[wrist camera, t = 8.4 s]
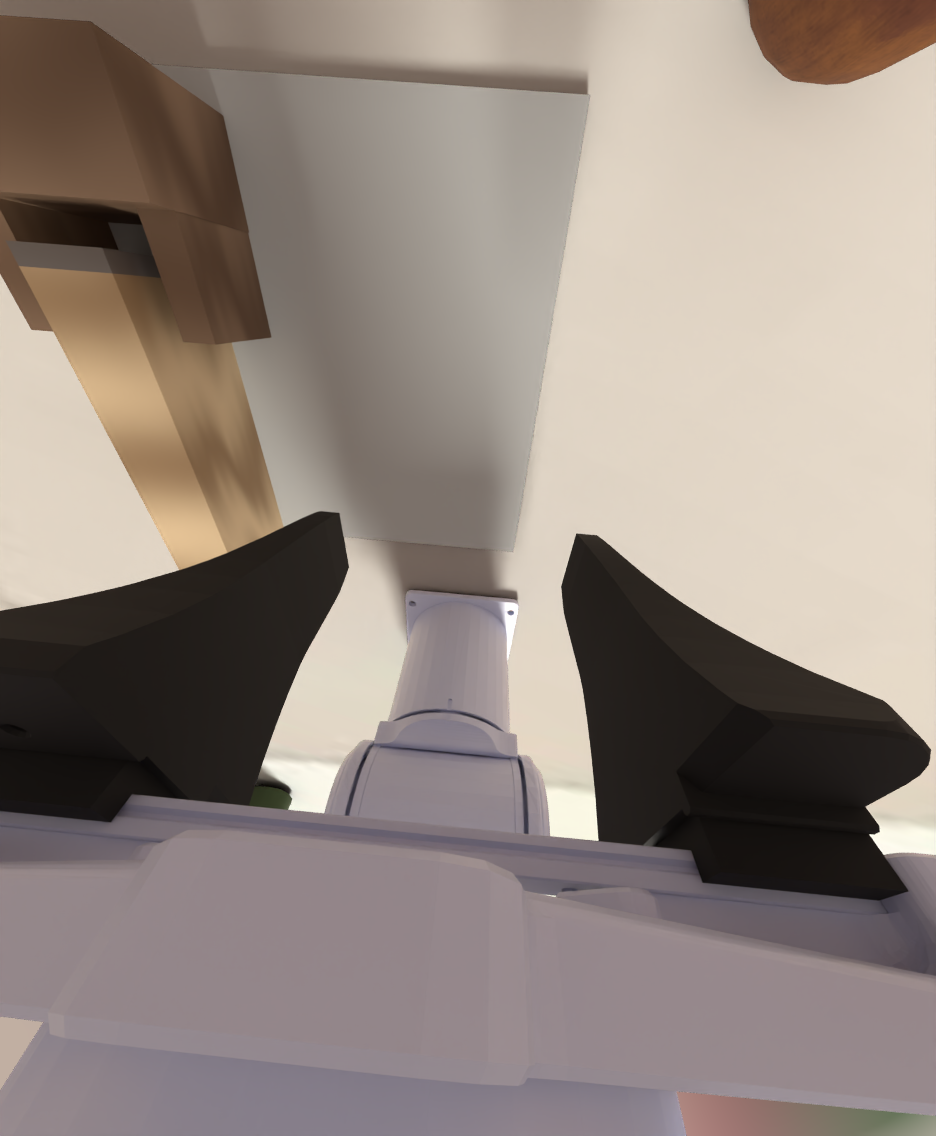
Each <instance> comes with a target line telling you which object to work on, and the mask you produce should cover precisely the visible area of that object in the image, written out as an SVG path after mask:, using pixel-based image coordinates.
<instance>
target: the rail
mask: <svg viewBox="0 0 936 1136" xmlns="http://www.w3.org/2000/svg"><path fill="white" fill-rule="evenodd" d="M5 241H6V243H7V244H8V246H9V248H10V250H11V252H12V254H13V256H14V258H15V260H16V262H17V263H18V265H19V267H20V269H21V271H22V273H23V275H24V277H25V279H26V280H27V282H28V284H29V286H30V288H31V290H32V292H33V294H34V296H35V298H36V299H37V301H38V303H39V305H40V307H41V309H42V311H43V313H44V315H45V316H46V318H47V320H48V322H49V324H50V326H51V328H52V330H53V332H54V333H55V335H56V337H57V339H58V341H59V343H60V345H61V347H62V349H63V351H64V352H65V354H66V356H67V358H68V360H69V362H70V364H71V366H72V368H73V369H74V371H75V373H76V375H77V377H78V379H79V381H80V383H81V385H82V387H83V388H84V390H85V392H86V394H87V396H88V398H89V400H90V402H91V404H92V405H93V407H94V409H95V411H96V413H97V415H98V417H99V419H100V421H101V423H102V424H103V426H104V428H105V430H106V432H107V434H108V436H109V438H110V440H111V441H112V443H113V445H114V447H115V449H116V451H117V453H118V455H119V457H120V459H121V460H122V462H123V464H124V466H125V468H126V470H127V472H128V474H129V476H130V477H131V479H132V481H133V483H134V485H135V487H136V489H137V491H138V493H139V495H140V496H141V498H142V500H143V502H144V504H145V506H146V508H147V510H148V512H149V513H150V515H151V517H152V519H153V521H154V523H155V525H156V527H157V529H158V530H159V532H160V534H161V536H162V538H163V540H164V542H165V544H166V546H167V548H168V549H169V551H170V553H171V555H172V557H173V559H174V561H175V563H176V565H177V566H178V568H179V570H181V569H185V568H187V567H190V566H193V565H196V564H199V563H202V562H205V561H207V560H210V559H213V558H215V557H218V556H220V555H223V554H225V553H228V552H230V551H232V550H235V549H237V548H239V547H241V546H244V545H246V544H248V543H250V542H253V541H255V540H257V539H260V538H262V537H264V536H266V535H268V534H270V533H272V532H274V531H276V530H278V529H280V528H283V527H284V526H283V523H282V519H281V515H280V512H279V508H278V505H277V501H276V498H275V494H274V491H273V487H272V484H271V480H270V477H269V473H268V469H267V466H266V462H265V459H264V455H263V452H262V448H261V445H260V441H259V438H258V434H257V431H256V427H255V424H254V420H253V416H252V413H251V409H250V406H249V402H248V399H247V395H246V392H245V388H244V385H243V381H242V378H241V374H240V370H239V367H238V363H237V360H236V356H235V353H234V349H233V346H232V343H225V344H217V345H214V344H201V343H189V342H183V339H182V336H181V334H180V331H179V328H178V325H177V322H176V319H175V316H174V314H173V311H172V308H171V305H170V302H169V299H168V296H167V294H166V291H165V288H164V285H163V282H162V279H161V277H160V274H159V271H158V268H157V265H156V262H155V259H154V257H153V256H151V255H145V254H138V253H132V252H126V251H119V250H113V249H106V248H97V247H85V246H72V245H59V244H46V243H33V242H20V241H7V240H5Z"/></svg>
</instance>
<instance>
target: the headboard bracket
mask: <svg viewBox="0 0 936 1136" xmlns="http://www.w3.org/2000/svg"><path fill="white" fill-rule="evenodd" d="M108 222H110V223H123V224H136V225H143V228H144V231H145V234H146V237H147V239H148V242H149V245H150V248H151V251H152V254H153V257H154V259H155V262H156V265H157V268H158V271H159V274H160V277H161V279H162V282H163V285H164V288H165V291H166V294H167V296H168V299H169V302H170V305H171V308H172V311H173V314H174V316H175V319H176V322H177V325H178V328H179V331H180V334H181V336H182V339H183V342H189V343H201V344H214V345H217V344H225V343H233V342H241V341H248V340H256V339H264V338H272V337H271V332H270V328H269V324H268V319H267V315H266V310H265V306H264V301H263V297H262V292H261V288H260V283H259V279H258V274H257V270H256V265H255V261H254V257H253V252H252V248H251V243H250V239H249V234H248V233H249V229H248V224H247V220H246V215H245V211H244V206H243V202H242V197H241V193H240V188H239V184H238V179H237V175H236V170H235V166H234V161H233V157H232V152H231V148H230V143H229V139H228V134H227V130H226V125H225V121H224V116H223V115H222V114H220V113H219V112H218V111H216V110H215V109H213V108H212V107H210V106H209V105H208V104H206V103H205V102H203V101H202V100H201V99H199V98H198V97H196V96H195V95H194V94H192V93H191V92H189V91H188V90H186V89H185V88H184V87H182V86H181V85H179V84H178V83H177V82H175V81H174V80H172V79H171V78H170V77H168V76H167V75H165V74H164V73H162V72H161V71H160V70H158V69H157V68H155V67H154V66H153V65H151V64H150V63H148V62H147V61H145V60H144V59H143V58H141V57H140V56H138V55H137V54H136V53H134V52H133V51H131V50H130V49H129V48H127V47H126V46H124V45H123V44H121V43H120V42H119V41H117V40H116V39H114V38H113V37H112V36H110V35H109V34H107V33H106V32H105V31H103V30H102V29H100V28H99V27H97V26H96V25H95V24H93V23H92V22H89V21H74V20H60V19H45V18H31V17H16V16H1V15H0V274H1V276H2V278H3V279H4V281H5V283H6V285H7V287H8V288H9V290H10V292H11V294H12V296H13V297H14V299H15V301H16V303H17V305H18V306H19V308H20V310H21V312H22V313H23V315H24V317H25V319H26V321H27V322H28V324H29V326H30V328H31V330H42V331H53V330H52V328H51V326H50V324H49V322H48V320H47V318H46V316H45V315H44V313H43V311H42V309H41V307H40V305H39V303H38V301H37V299H36V298H35V296H34V294H33V292H32V290H31V288H30V286H29V284H28V282H27V280H26V279H25V277H24V275H23V273H22V271H21V269H20V267H19V265H18V263H17V262H16V260H15V258H14V256H13V254H12V252H11V250H10V248H9V246H8V244H7V243H6V241H5V240H7V241H20V242H33V243H46V244H59V245H72V246H85V247H97V248H106V249H113V250H119V249H118V247H117V244H116V242H115V239H114V237H113V234H112V231H111V229H110V226H109V224H108Z"/></svg>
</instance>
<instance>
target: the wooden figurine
mask: <svg viewBox="0 0 936 1136" xmlns="http://www.w3.org/2000/svg"><path fill="white" fill-rule="evenodd" d="M748 3H749V13H750V24H751V28H752V31H753V33H754V35H755V37H756V40H757V42H758V44H759V47H760V49H761V51H762V53H763V56H764V57H765V58H766V59H767V60H768V61H769V62H770V63H771V64H772V65H773V66H774V67H775V68H776V69H777V70H778V71H779V72H780V73H781V74H782V75H783V76H784V77H786V78H788V79H790V80H792V81H798V82H807V83H815V84H824V85H828V84H844V83H849V82H852V81H855V80H858V79H860V78H863V77H866V76H869V75H871V74H874V73H877V72H880V71H882V70H883V69H885V68H887V67H889V66H891V65H893V64H895V63H897V62H899V61H901V60H903V59H905V58H907V57H909V56H910V55H912V54H914V53H916V52H918V51H920V50H922V49H924V48H926V47H928V46H930V45H932V44H934V43H936V0H748Z"/></svg>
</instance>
